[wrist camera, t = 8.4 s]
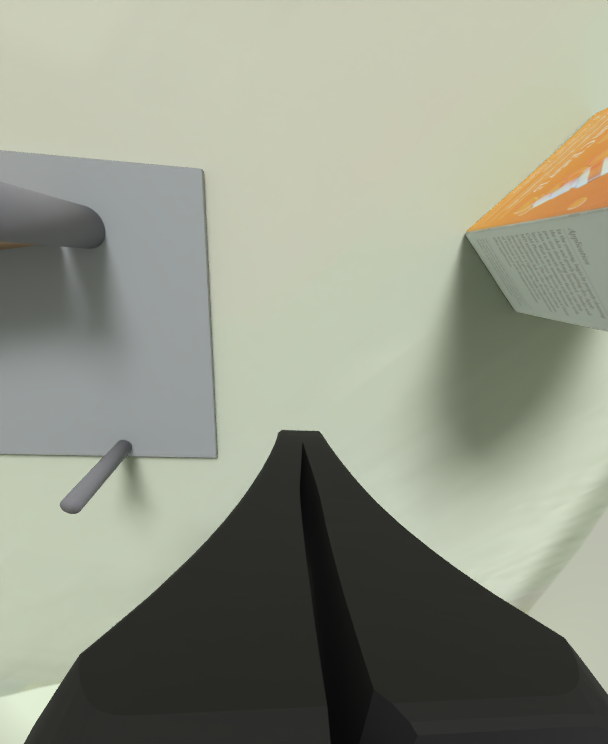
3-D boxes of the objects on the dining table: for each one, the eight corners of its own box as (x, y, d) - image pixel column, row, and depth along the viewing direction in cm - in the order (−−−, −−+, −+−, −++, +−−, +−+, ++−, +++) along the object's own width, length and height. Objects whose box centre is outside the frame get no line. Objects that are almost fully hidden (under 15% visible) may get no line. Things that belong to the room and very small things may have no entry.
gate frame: (-177, 136, 13) (-524, 40, 7) (203, 171, 14) (150, 111, 9) (-44, 449, 19) (-182, 526, 13) (217, 454, 20) (191, 526, 15)
